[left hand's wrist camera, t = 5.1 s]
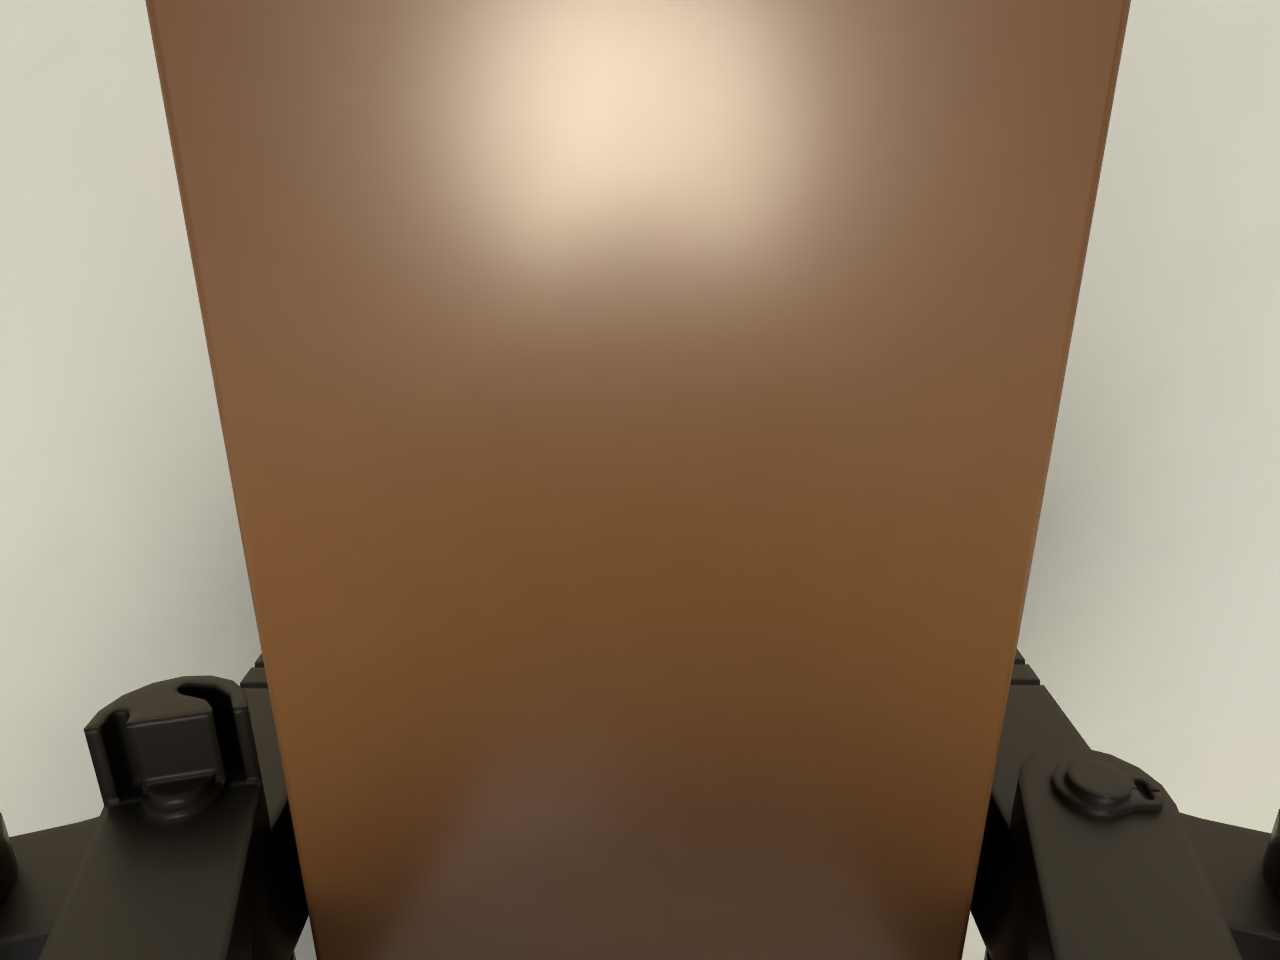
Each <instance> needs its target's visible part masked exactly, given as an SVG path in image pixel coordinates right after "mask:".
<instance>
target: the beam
mask: <svg viewBox="0 0 1280 960" xmlns="http://www.w3.org/2000/svg"><path fill="white" fill-rule="evenodd" d="M1130 2H1131V0H146V6H147V11H148V17H149V23H150V28H151V34H152V39H153V45H154V50H155V56H156V62H157V67H158V73H159V78H160V84H161V90H162V95H163V101H164V106H165V112H166V118H167V123H168V129H169V134H170V140H171V146H172V151H173V157H174V162H175V168H176V174H177V179H178V185H179V190H180V196H181V202H182V207H183V213H184V218H185V224H186V230H187V235H188V241H189V246H190V252H191V257H192V263H193V269H194V274H195V280H196V285H197V291H198V297H199V302H200V308H201V313H202V319H203V325H204V330H205V336H206V341H207V347H208V353H209V358H210V364H211V369H212V375H213V381H214V386H215V392H216V397H217V403H218V409H219V414H220V420H221V425H222V431H223V437H224V442H225V448H226V453H227V459H228V465H229V470H230V476H231V481H232V487H233V492H234V498H235V504H236V509H237V515H238V520H239V526H240V532H241V537H242V543H243V548H244V554H245V560H246V565H247V571H248V576H249V582H250V588H251V593H252V599H253V604H254V610H255V616H256V621H257V627H258V632H259V638H260V644H261V649H262V655H263V660H264V666H265V672H266V677H267V683H268V688H269V694H270V699H271V705H272V711H273V716H274V722H275V727H276V733H277V739H278V744H279V750H280V755H281V761H282V767H283V772H284V778H285V783H286V789H287V795H288V800H289V806H290V811H291V817H292V823H293V828H294V834H295V839H296V845H297V851H298V856H299V862H300V867H301V873H302V879H303V884H304V890H305V895H306V901H307V907H308V912H309V918H310V923H311V929H312V934H313V940H314V946H315V951H316V957H317V960H961V959H962V954H963V948H964V942H965V937H966V931H967V925H968V920H969V914H970V908H971V903H972V897H973V891H974V886H975V880H976V874H977V869H978V863H979V857H980V852H981V846H982V840H983V835H984V829H985V823H986V818H987V812H988V806H989V801H990V795H991V789H992V784H993V778H994V772H995V767H996V761H997V755H998V750H999V744H1000V738H1001V733H1002V727H1003V721H1004V716H1005V710H1006V704H1007V699H1008V693H1009V687H1010V682H1011V676H1012V670H1013V665H1014V659H1015V653H1016V648H1017V642H1018V636H1019V631H1020V625H1021V619H1022V614H1023V608H1024V602H1025V597H1026V591H1027V585H1028V580H1029V574H1030V568H1031V563H1032V557H1033V551H1034V546H1035V540H1036V534H1037V529H1038V523H1039V517H1040V512H1041V506H1042V501H1043V495H1044V489H1045V484H1046V478H1047V472H1048V467H1049V461H1050V455H1051V450H1052V444H1053V438H1054V433H1055V427H1056V421H1057V416H1058V410H1059V404H1060V399H1061V393H1062V387H1063V382H1064V376H1065V370H1066V365H1067V359H1068V353H1069V348H1070V342H1071V336H1072V331H1073V325H1074V319H1075V314H1076V308H1077V302H1078V297H1079V291H1080V285H1081V280H1082V274H1083V268H1084V263H1085V257H1086V251H1087V246H1088V240H1089V234H1090V229H1091V223H1092V217H1093V212H1094V206H1095V200H1096V195H1097V189H1098V183H1099V178H1100V172H1101V166H1102V161H1103V155H1104V149H1105V144H1106V138H1107V132H1108V127H1109V121H1110V115H1111V110H1112V104H1113V98H1114V93H1115V87H1116V81H1117V76H1118V70H1119V64H1120V59H1121V53H1122V47H1123V42H1124V36H1125V30H1126V25H1127V19H1128V13H1129V8H1130Z"/></svg>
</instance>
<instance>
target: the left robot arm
mask: <svg viewBox="0 0 1280 960" xmlns="http://www.w3.org/2000/svg"><path fill="white" fill-rule="evenodd" d="M84 732H85V736H86V739H87V743H88V747H89V751H90V754H91V758H92V762H93V765H94V769H95V773H96V777H97V780H98V784H99V788H100V791H101V795H102V799H103V803H104V808H103V810H102V812H101V815H100V817H96V818H93V819H89V820H86V821H82V822H79V823H74V824H69V825H65V826H60V827H55V828H51V829H46V830H41V831H37V832H32V833H28V834H23V835H18V836H14V837H9V836H8V833H7V830H6V826H5V823H4V820H3V817H2V814H1V813H0V960H296V957H295V952H294V949H295V947H296V944H297V942H298V940H299V937H300V935H301V932H302V930H303V928H304V925H305V923H306V921H307V918H308V916H309V912H308V907H307V901H306V895H305V890H304V884H303V879H302V873H301V867H300V862H299V856H298V851H297V845H296V839H295V834H294V828H293V823H292V817H291V811H290V806H289V800H288V795H287V789H286V783H285V778H284V772H283V767H282V761H281V755H280V750H279V744H278V739H277V733H276V727H275V722H274V716H273V711H272V705H271V699H270V694H269V688H268V683H267V677H266V672H265V666H264V660H263V655H262V654H261V655H260V657H259V658H258V659H257V661H256V662H255V668H251V669H250V670H249V672H248V673H247V674H246V676H245V677H244V679H243V680H242V681H241V683H240V686H239V685H237V684H236V683H235V682H234V681H232V680H228V679H223V678H219V677H215V676H183V677H178V678H174V679H169V680H165V681H160V682H156V683H152V684H149V685H147V686H145V687H142V688H140V689H137V690H135V691H132V692H130V693H127V694H125V695H123V696H121V697H120V698H118V699H117V700H115V701H114V702H112V703H111V704H109V705H108V706H106V707H105V708H103V709H102V710H100V711H99V712H98V713H97V714H96V715H95V716H94V718H93V719H92V720H91V721H90V722H89V724H88V725H87V726H86V727H85V728H84ZM970 911H971V913H972V915H973V918H974V920H975V922H976V925H977V927H978V929H979V932H980V934H981V936H982V939H983V941H984V943H985V946H986V952H985V957H984V960H1280V809H1279V812H1278V815H1277V818H1276V821H1275V824H1274V827H1273V830H1272V833H1271V834H1270V833H1266V832H1261V831H1256V830H1252V829H1247V828H1242V827H1238V826H1233V825H1228V824H1224V823H1219V822H1214V821H1210V820H1205V819H1201V818H1197V817H1194V816H1190V815H1187V814H1183V813H1179V811H1178V808H1177V806H1176V804H1175V803H1174V801H1173V800H1172V799H1171V797H1170V796H1169V794H1168V793H1167V792H1166V790H1165V789H1164V787H1163V786H1162V785H1161V784H1160V783H1158V782H1157V781H1156V780H1154V779H1153V778H1152V777H1150V776H1149V775H1148V774H1146V773H1145V772H1144V771H1142V770H1141V769H1140V768H1138V767H1136V766H1134V765H1132V764H1130V763H1128V762H1125V761H1123V760H1121V759H1119V758H1117V757H1115V756H1113V755H1110V754H1106V753H1102V752H1098V751H1094V750H1091V749H1090V748H1089V746H1088V745H1087V744H1086V742H1085V741H1084V739H1083V738H1082V737H1081V735H1080V734H1079V733H1078V731H1077V730H1076V729H1075V727H1074V726H1073V724H1072V723H1071V722H1070V720H1069V719H1068V718H1067V716H1066V715H1065V714H1064V712H1063V711H1062V710H1061V708H1060V707H1059V705H1058V704H1057V703H1056V701H1055V700H1054V699H1053V697H1052V696H1051V695H1050V693H1049V692H1048V690H1047V689H1046V688H1045V686H1044V685H1040V680H1039V678H1038V677H1037V675H1036V674H1035V673H1034V671H1033V670H1032V669H1031V667H1030V666H1029V665H1025V659H1024V658H1023V656H1022V655H1021V654H1020V652H1019V651H1018V650H1017V648H1016V653H1015V659H1014V665H1013V670H1012V676H1011V682H1010V687H1009V693H1008V699H1007V704H1006V710H1005V716H1004V721H1003V727H1002V733H1001V738H1000V744H999V750H998V755H997V761H996V767H995V772H994V778H993V784H992V789H991V795H990V801H989V806H988V812H987V818H986V823H985V829H984V835H983V840H982V846H981V852H980V857H979V863H978V869H977V874H976V880H975V886H974V891H973V897H972V903H971V908H970Z"/></svg>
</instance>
